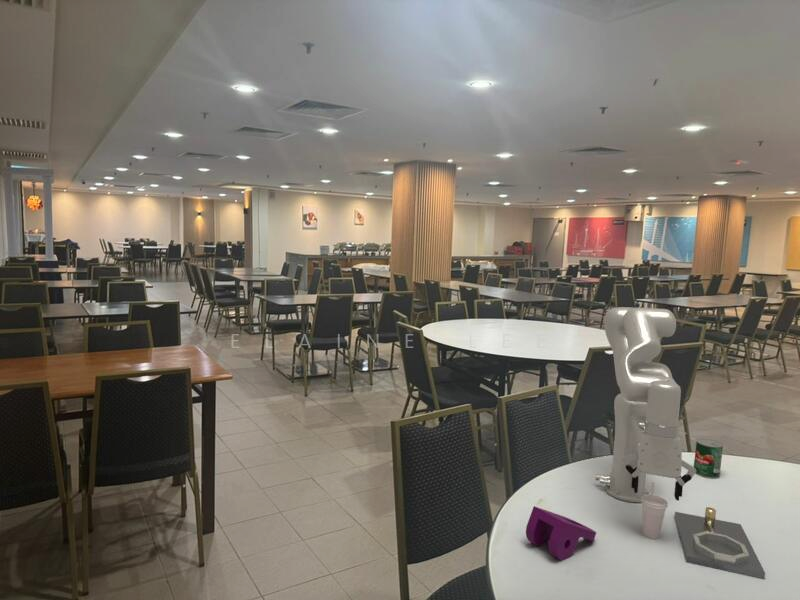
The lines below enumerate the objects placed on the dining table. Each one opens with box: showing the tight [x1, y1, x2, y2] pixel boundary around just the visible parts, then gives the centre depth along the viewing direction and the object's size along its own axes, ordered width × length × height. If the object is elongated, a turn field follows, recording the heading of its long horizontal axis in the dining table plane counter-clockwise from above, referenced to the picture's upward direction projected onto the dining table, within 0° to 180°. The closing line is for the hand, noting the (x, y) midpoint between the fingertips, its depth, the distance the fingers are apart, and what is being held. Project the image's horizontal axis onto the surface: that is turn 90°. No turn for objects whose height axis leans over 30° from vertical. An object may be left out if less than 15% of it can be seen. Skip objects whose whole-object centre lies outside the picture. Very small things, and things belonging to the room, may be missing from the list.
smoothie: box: [640, 482, 669, 540], centre depth 140 cm, size 6×6×14 cm
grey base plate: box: [674, 507, 766, 580], centre depth 137 cm, size 16×24×6 cm, turn 159°
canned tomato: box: [693, 438, 724, 480], centre depth 182 cm, size 8×8×11 cm
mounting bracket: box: [525, 506, 597, 562], centre depth 134 cm, size 10×8×18 cm
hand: (655, 494), depth 139 cm, fingers open, 9 cm apart
